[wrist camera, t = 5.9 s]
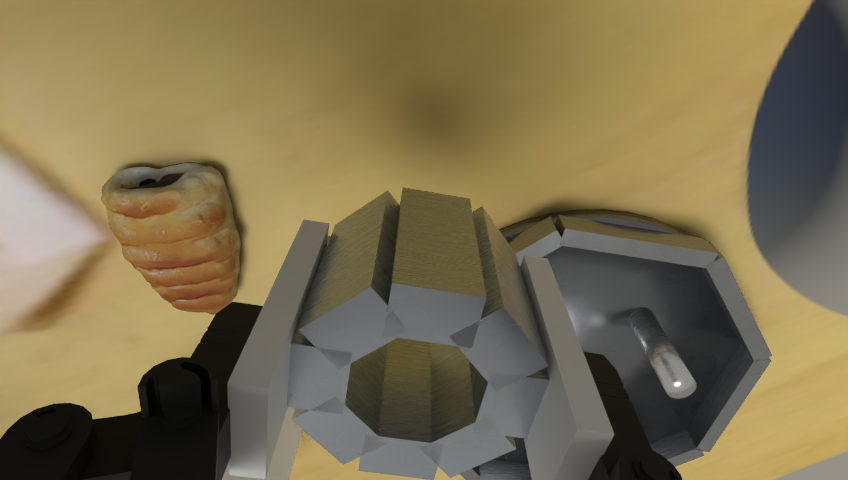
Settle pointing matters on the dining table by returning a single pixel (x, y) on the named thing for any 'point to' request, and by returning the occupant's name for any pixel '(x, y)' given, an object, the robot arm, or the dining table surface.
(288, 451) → the beverage can
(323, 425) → the gear
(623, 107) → the dining table surface
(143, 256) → the pastry
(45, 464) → the robot arm
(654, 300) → the tray
